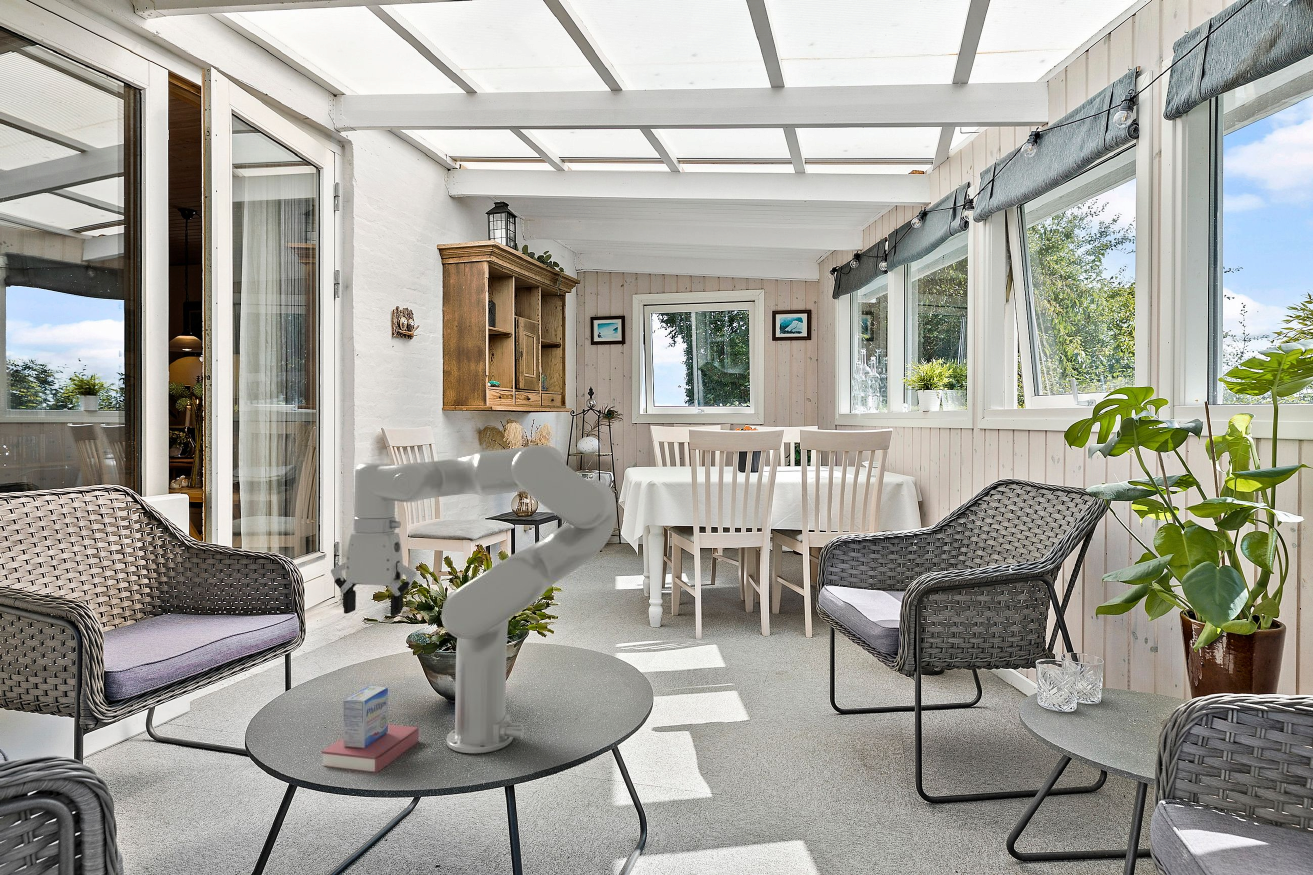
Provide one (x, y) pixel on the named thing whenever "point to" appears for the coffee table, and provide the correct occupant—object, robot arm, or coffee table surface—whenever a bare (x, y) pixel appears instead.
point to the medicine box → (365, 717)
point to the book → (372, 750)
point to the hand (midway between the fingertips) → (372, 613)
